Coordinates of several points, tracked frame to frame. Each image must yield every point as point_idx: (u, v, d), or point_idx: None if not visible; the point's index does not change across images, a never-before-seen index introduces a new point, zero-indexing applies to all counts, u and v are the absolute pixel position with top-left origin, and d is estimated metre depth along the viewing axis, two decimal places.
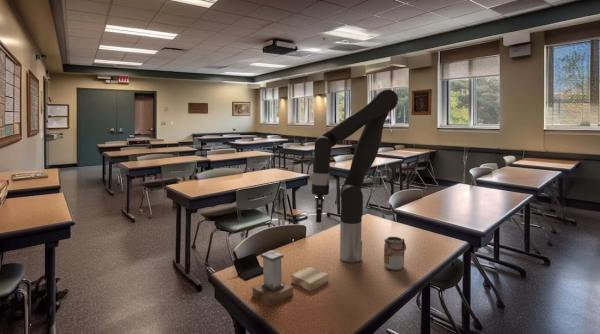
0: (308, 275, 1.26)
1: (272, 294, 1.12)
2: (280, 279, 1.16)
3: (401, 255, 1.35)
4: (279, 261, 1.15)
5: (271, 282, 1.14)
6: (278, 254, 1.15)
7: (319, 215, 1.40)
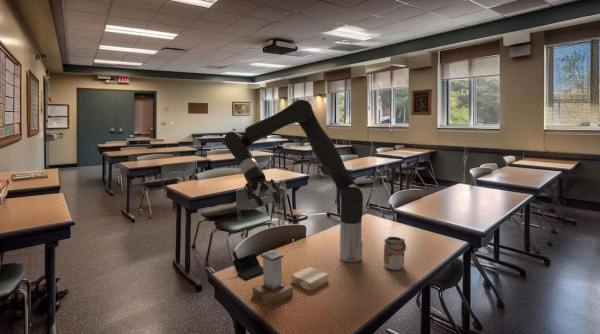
0: (308, 275, 1.26)
1: (272, 294, 1.12)
2: (280, 279, 1.16)
3: (401, 255, 1.35)
4: (279, 261, 1.15)
5: (271, 282, 1.14)
6: (278, 254, 1.15)
7: (256, 198, 1.28)
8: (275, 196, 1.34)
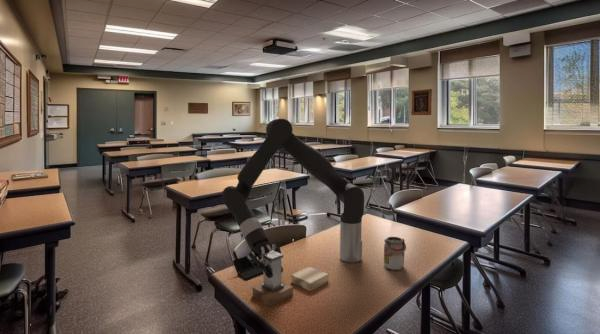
0: (308, 275, 1.26)
1: (272, 294, 1.12)
2: (280, 279, 1.16)
3: (401, 255, 1.35)
4: (279, 261, 1.15)
5: (271, 282, 1.14)
6: (278, 254, 1.15)
7: (264, 269, 1.14)
8: None
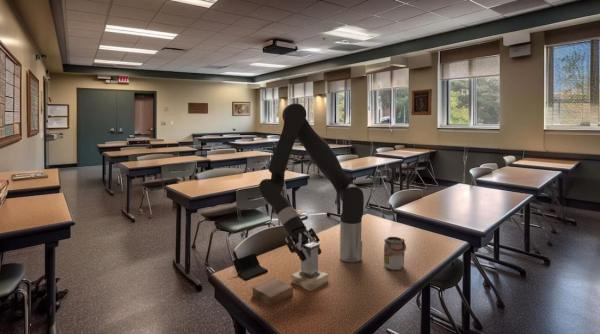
0: None
1: (272, 294, 1.12)
2: (317, 267, 1.26)
3: (401, 255, 1.35)
4: (316, 250, 1.24)
5: (309, 269, 1.23)
6: (315, 243, 1.25)
7: (298, 252, 1.22)
8: None
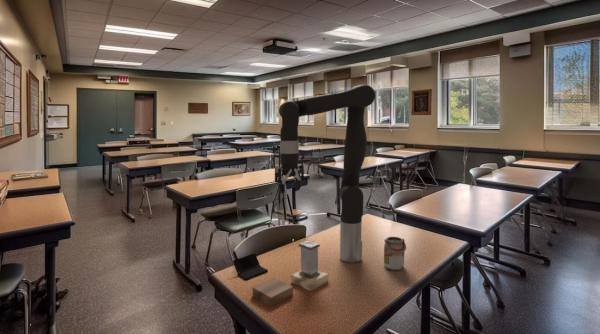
0: None
1: (272, 294, 1.12)
2: (317, 267, 1.26)
3: (401, 255, 1.35)
4: (316, 250, 1.24)
5: (309, 269, 1.23)
6: (315, 243, 1.25)
7: (280, 185, 1.32)
8: (297, 184, 1.39)
